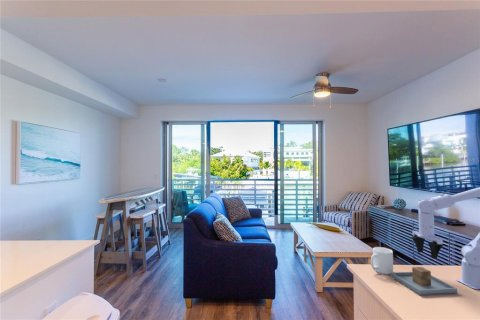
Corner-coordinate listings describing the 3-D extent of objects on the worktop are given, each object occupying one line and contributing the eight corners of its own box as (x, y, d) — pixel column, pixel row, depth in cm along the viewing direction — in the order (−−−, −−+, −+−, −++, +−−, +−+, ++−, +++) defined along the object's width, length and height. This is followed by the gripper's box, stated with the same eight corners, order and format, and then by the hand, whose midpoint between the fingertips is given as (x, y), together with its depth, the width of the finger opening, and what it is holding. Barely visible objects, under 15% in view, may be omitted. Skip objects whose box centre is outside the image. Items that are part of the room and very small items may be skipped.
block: (422, 280, 107) (421, 266, 107) (431, 285, 102) (430, 271, 102) (412, 281, 106) (412, 267, 107) (421, 286, 102) (420, 271, 102)
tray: (423, 275, 113) (423, 271, 113) (457, 293, 97) (456, 288, 97) (391, 277, 112) (391, 272, 112) (419, 295, 96) (419, 290, 96)
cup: (397, 273, 116) (396, 251, 116) (379, 277, 111) (378, 255, 112) (381, 266, 124) (381, 246, 124) (363, 270, 119) (363, 249, 119)
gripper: (406, 222, 121) (407, 249, 120) (432, 230, 106) (432, 261, 106) (419, 221, 121) (420, 249, 121) (446, 229, 107) (447, 260, 106)
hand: (427, 255), depth 113 cm, fingers open, 7 cm apart
